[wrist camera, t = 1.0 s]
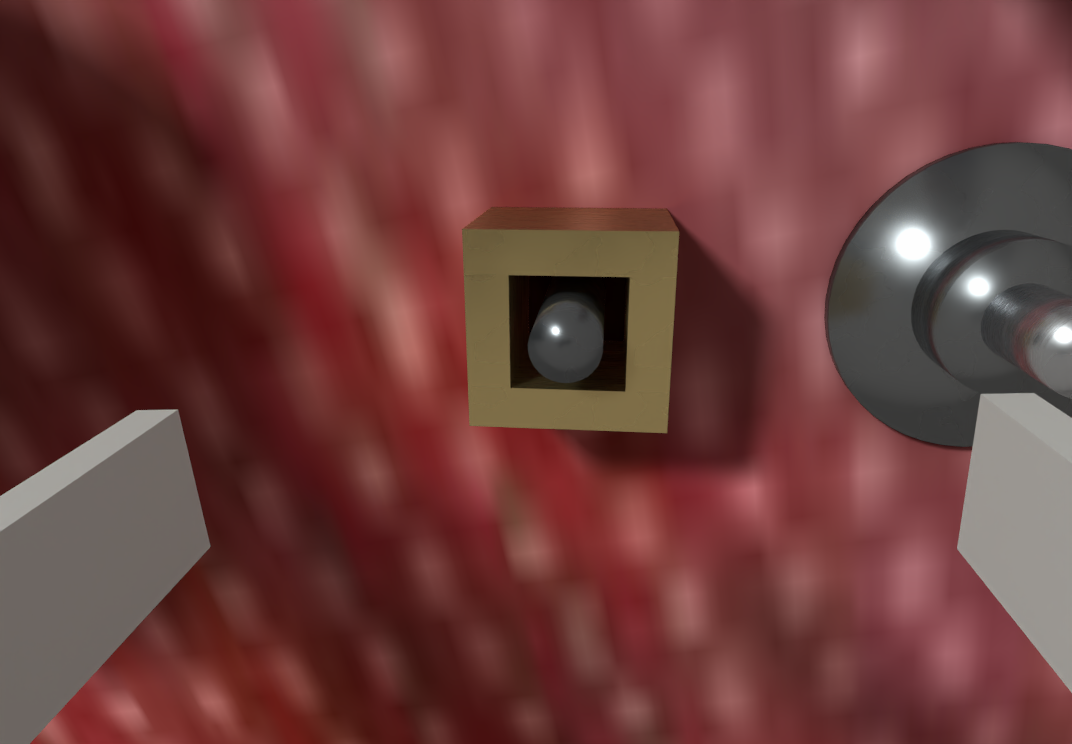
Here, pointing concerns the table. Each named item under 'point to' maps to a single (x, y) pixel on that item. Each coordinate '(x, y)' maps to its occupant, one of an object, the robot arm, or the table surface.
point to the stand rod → (569, 329)
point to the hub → (958, 291)
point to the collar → (569, 250)
